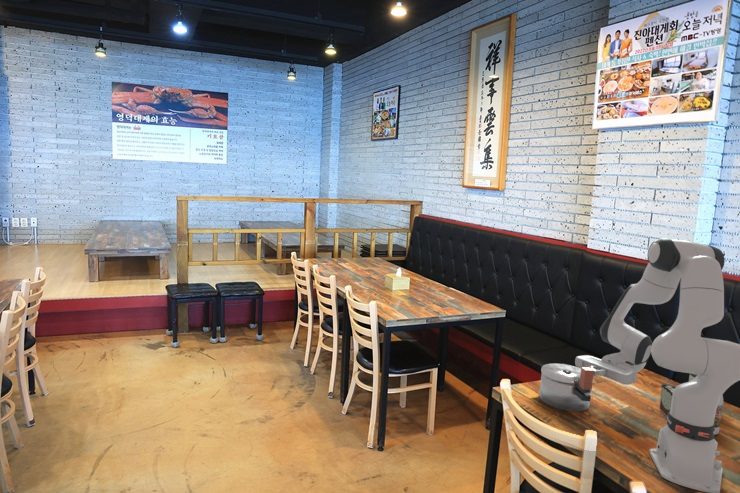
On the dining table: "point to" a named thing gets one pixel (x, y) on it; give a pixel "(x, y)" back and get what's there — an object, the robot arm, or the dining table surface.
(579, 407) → the cooker pot
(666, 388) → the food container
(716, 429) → the milk bottle
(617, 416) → the dining table surface
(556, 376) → the lid
